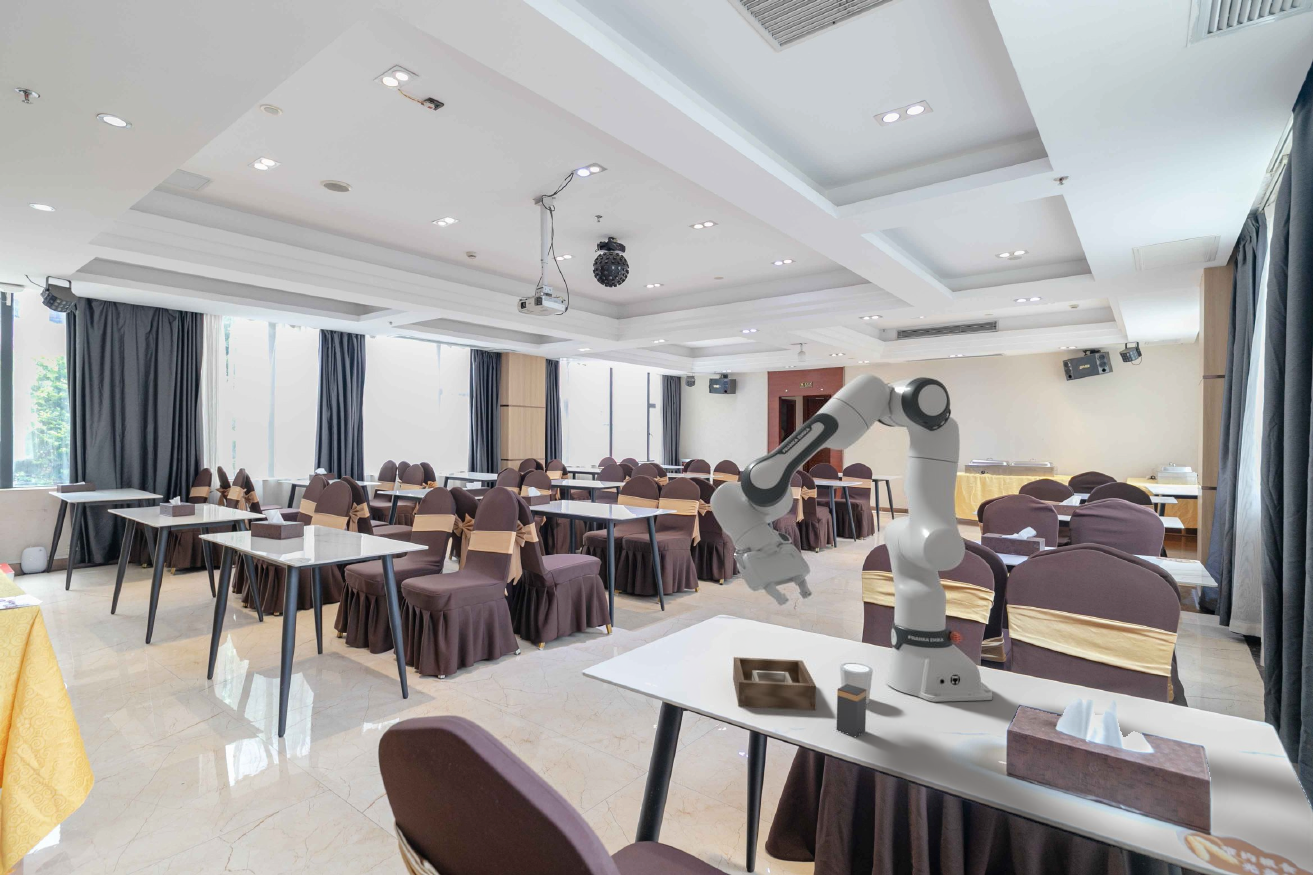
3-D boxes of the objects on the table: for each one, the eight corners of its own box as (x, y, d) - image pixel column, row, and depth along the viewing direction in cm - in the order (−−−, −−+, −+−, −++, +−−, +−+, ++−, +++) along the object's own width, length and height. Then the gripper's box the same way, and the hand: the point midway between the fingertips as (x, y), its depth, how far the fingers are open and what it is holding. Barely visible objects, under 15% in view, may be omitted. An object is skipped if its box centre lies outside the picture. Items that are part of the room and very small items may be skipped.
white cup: (872, 696, 140) (872, 664, 140) (871, 707, 134) (872, 674, 134) (839, 691, 142) (840, 660, 143) (838, 702, 136) (839, 670, 136)
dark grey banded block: (845, 724, 125) (847, 683, 125) (865, 730, 122) (866, 689, 123) (836, 730, 122) (837, 688, 122) (856, 737, 120) (857, 694, 120)
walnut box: (801, 681, 148) (802, 660, 148) (815, 710, 132) (816, 685, 132) (733, 678, 148) (733, 657, 148) (738, 705, 132) (739, 682, 133)
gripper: (740, 541, 129) (779, 598, 122) (792, 534, 144) (830, 584, 137) (721, 560, 132) (759, 616, 125) (774, 551, 147) (811, 601, 140)
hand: (796, 600), depth 131 cm, fingers open, 8 cm apart
